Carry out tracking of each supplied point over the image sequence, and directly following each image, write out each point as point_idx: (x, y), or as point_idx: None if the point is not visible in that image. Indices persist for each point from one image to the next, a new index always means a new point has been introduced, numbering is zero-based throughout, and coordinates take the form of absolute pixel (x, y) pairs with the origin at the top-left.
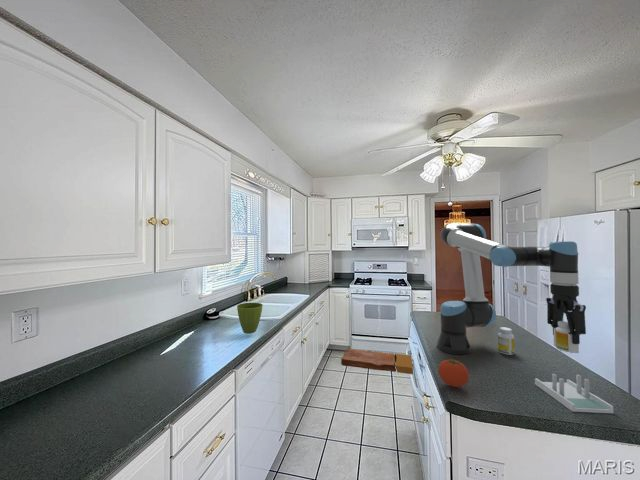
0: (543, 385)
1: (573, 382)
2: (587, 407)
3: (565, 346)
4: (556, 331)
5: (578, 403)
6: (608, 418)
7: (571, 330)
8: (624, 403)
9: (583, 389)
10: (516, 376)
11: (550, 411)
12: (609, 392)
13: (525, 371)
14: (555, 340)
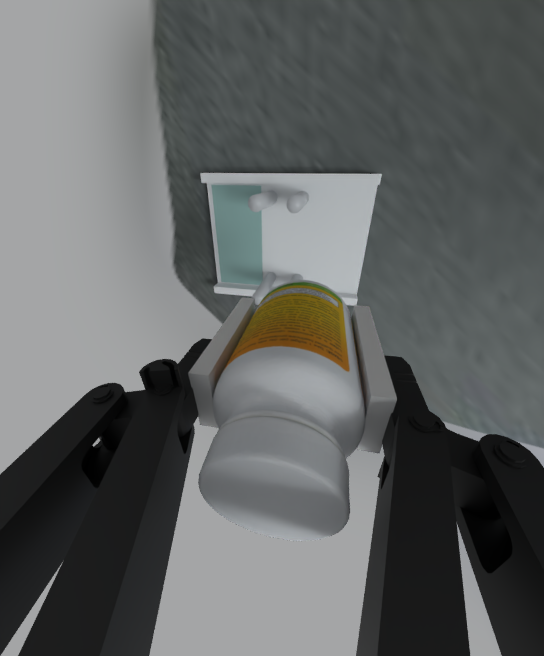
0: (330, 174)
1: None
2: (216, 228)
3: (261, 306)
4: (307, 348)
5: (234, 219)
6: (197, 253)
7: (156, 403)
8: None
9: None
10: (460, 129)
11: (196, 80)
12: None
13: (488, 218)
14: (358, 325)
